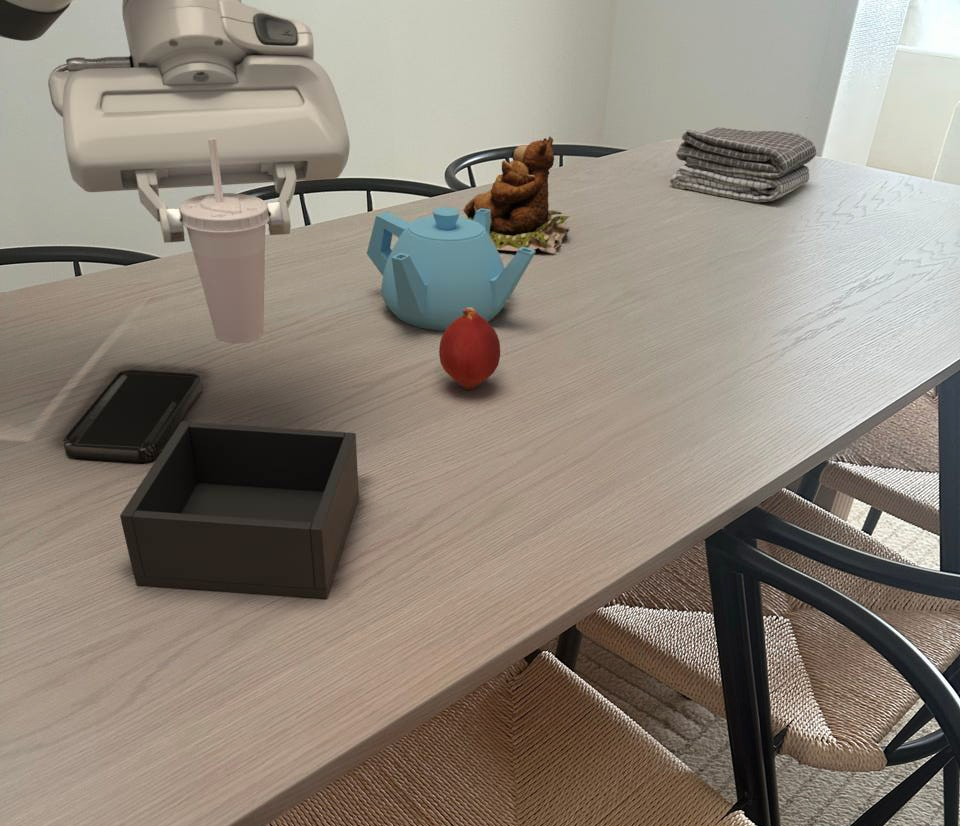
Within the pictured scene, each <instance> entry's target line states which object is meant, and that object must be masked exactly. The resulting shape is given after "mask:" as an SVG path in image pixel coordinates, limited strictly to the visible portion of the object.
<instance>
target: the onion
mask: <svg viewBox="0 0 960 826" xmlns="http://www.w3.org/2000/svg"><path fill="white" fill-rule="evenodd" d="M463 313H464V314H463V316H461V317H459V318H457V319H456V320H454V321H453V322H452V323H451V324H450V325H449V326H448V328H447V329H446V330H445V331H444V332H443V333H442V335H441V338H440V341H439V347H438V348H439V349H438V354H439V355H438V356H439V361H440V364H441V366H442V368H443V370H444V372H445V373H447V375H448V376H449V377H451V379H453V380H454V381H456V383H458V384H459V385H460V386H461V387H462V388H463V389H465V390H473V389H474V388H476V387H477V386H479V385H480V384H482V383H484V382H486V381H487V380H488V379H489V378H490V377H492V375H493V374H495V371H496V370H497V368H498V367H499V364H500V359H501V343H500V342H501V341H500V339H499V336H498V334H497V332H496V330H495V329H494V328H493V327H492V325H491V324H490V323H489V322H487V321H486V320H485V319H484V318H483V317H481V316H479V315H478V313H477V312H476V310H475V309H473V308H472V307H471V308H470V307H468V308H466V309H465V310H464V311H463Z"/></svg>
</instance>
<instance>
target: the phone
mask: <svg viewBox="0 0 960 826" xmlns="http://www.w3.org/2000/svg"><path fill="white" fill-rule="evenodd" d="M202 387H203V386H202V381H201V377H200V375H199V374H196V373H193V372H192V373H191V372H179V371H178V372H176V371H175V372H174V371H163V370H148V369H135V368H131V369H125V370H122V371H119V373H117V374H116V376H114V378H113V379H112V380H111V381H110V382H109V384H108V385H107V386H106V387H105V388H104V390H103V391H102V392H101V393H100V394H99V396H98V397H97V398H96V399H95V400H94V402H92V404H91V405H90V407H89V408H88V409H87V410H86V411H85V413H84V414H83V415H82V416H80V419H79V420H78V421H77V422H76V423H75V425H74V426H73V427H72V428H71V429H70V430H69V432H68V433H67V434H66V435H65V436H64V438H63V439H62V443H63V447H64V451H65V455H66V456H67V457H69V458H74V459H86V460H87V459H88V460H101V461H115V462H129V463H147V462H151V461H153V460H156V459H157V458H158V456H159V455H160V453H161V452H162V450H163V449H164V447H165V446H166V444H167V443H168V441H169V440H170V438H171V437H172V435H173V433H174V432H175V430H176V429H177V427H178V426H179V424H180V423H181V421H183V420H184V417H185V415H186V414H187V413H188V411H189V409H190V408H191V407H192V405H194V404H193V403H194V402H195V401H196V399H197V398H198V396H199V394H200V393H201V392H202V389H203V388H202Z"/></svg>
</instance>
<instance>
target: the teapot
mask: <svg viewBox="0 0 960 826" xmlns="http://www.w3.org/2000/svg"><path fill="white" fill-rule="evenodd" d="M490 215H491V210H488V209H482V208H481V209H479V210H477V211H476V212H475V216H474V219H473V220H470V219H467V218H468V217H461V216H460V210H458V209H456V208H454V207H450V206H449V207H447V206H443V207H437V208H434V209H432V215H431V216H430V215H429V216H424V217H420V218H417V219H414V220H412V221H411V222H409V221H407V220H405V219H403V218H400V217H399V216H396V215H395V214H393V213H390V212H389V211H384V212H382V213H379V214H377V215H375V219H374V223H373V227H372V231H371V234H370V239H369V242H368V246H367V250H366V255H367V257H368V258H369V259H370V260H371V262H372V263H373V265H374V266H375V267H376V269H377V270H378V272H380V274H381V275H382V281H381V296H382V299H383V302H384V303H385V305H386V306H387V307H388V308H389V310H390V311H391V312H392V313H393V314H394V315H395V316H396V317H397V318H398V319H399V320H400V321H402V322H404V323H405V324H408V325H411V326H413V327H417V328H420V329H426V330H433V331H442V332H443V331H444V332H445V330H446V329H447V328H448V326H449V325H450V324H451V323H452V322H453V321H454V320H456V319H457V318H459V317H461V316H463V314H464V313H463V311H464V310H465V309H466V308H468V307H470V308H471V307H472V308H473V309H475V310H476V312H477V313H478V315H479V316H481V317H483V318H484V319H485V320H486V321H487V322H488V323H489V322H491V321H492V320H493V319H494V318H495V317H496V316H497V315H498V314H499V313H500V312H501V311H502V309H503V308H504V307H505V306H506V304H507V301H509V299H510V298H511V296H512V294H513V293H514V291H515V289H516V288H517V286H518V284H519V282H520V281H521V279H522V277H523V275H524V274H525V272H526V270H527V269H528V267H529V264H530V263H531V262H532V260H533V258H534V256H535V254H536V249H535V250H532V249H529V248H525V247H521V248H519V249H518V251H516V253H515V254H514V256H513V257H512V258H511V260H509V262H508V263H507V264H506V266H504V263H503V259H502V257H501V255H500V253H499V250H497V249H496V247H495V245H494V243H493V241H492V239H491V238H490ZM393 235H394V236H395V237H396V238H398V239H397V241H396V243H395V244H394V246H393V248H392V247H391V246H392V239H393Z"/></svg>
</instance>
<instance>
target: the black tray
mask: <svg viewBox="0 0 960 826" xmlns="http://www.w3.org/2000/svg"><path fill="white" fill-rule="evenodd" d="M357 448H358V447H357V433H356V432H348V431H347V432H346V431H332V430H320V429H319V430H318V429H303V428H289V427H288V428H287V427H273V426H258V425H246V424H245V425H243V424H228V423H215V422H214V423H213V422H197V421H185V420H181V422H180V423H179V425H178V426H177V428H176V429H175V431H174V432H173V434H172V435H171V437H170V438H169V440H168V441H167V443H166V444H165V446H164V447H163V449H162V450H161V452H160V453H159V455H158V456H157V457H156V459H155V461H154V462H153V464H152V465H151V467H150V468H149V470H148V471H147V473H146V475H145V476H144V478H143V480H142V481H141V483H139V486H138V487H137V489H136V490H135V492H134V493H133V495H132V496H131V497H130V500H129V501H128V503H127V504H126V506H125V507H124V509H123V510H122V512H121V513H120V515H119V517H120V518H119V519H120V521H121V526H122V530H123V534H124V539H125V543H126V548H127V553H128V556H129V561H130V565H131V569H132V574H133V578H134V581H135V585H137V586H144V587H145V586H146V587H159V588H160V587H161V588H171V589H172V588H173V589H185V590H186V589H188V590H200V591H215V592H228V593H229V592H230V593H244V594H255V595H270V596H271V595H272V596H284V597H285V596H286V597H297V598H298V597H299V598H311V599H312V598H313V599H325V600H326V599H328V597H329V593H330V590H331V588H332V584H333V581H334V577H335V574H336V571H337V568H338V566H339V561H340V558H341V556H342V552H343V549H344V546H345V543H346V539H347V536H348V533H349V530H350V526H351V524H352V520H353V518H354V517H353V516H354V514H355V511H356V508H357V504H358V502H359V497H360V492H359V471H358V470H359V469H358V455H357V454H358V452H357V451H358V450H357Z"/></svg>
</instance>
